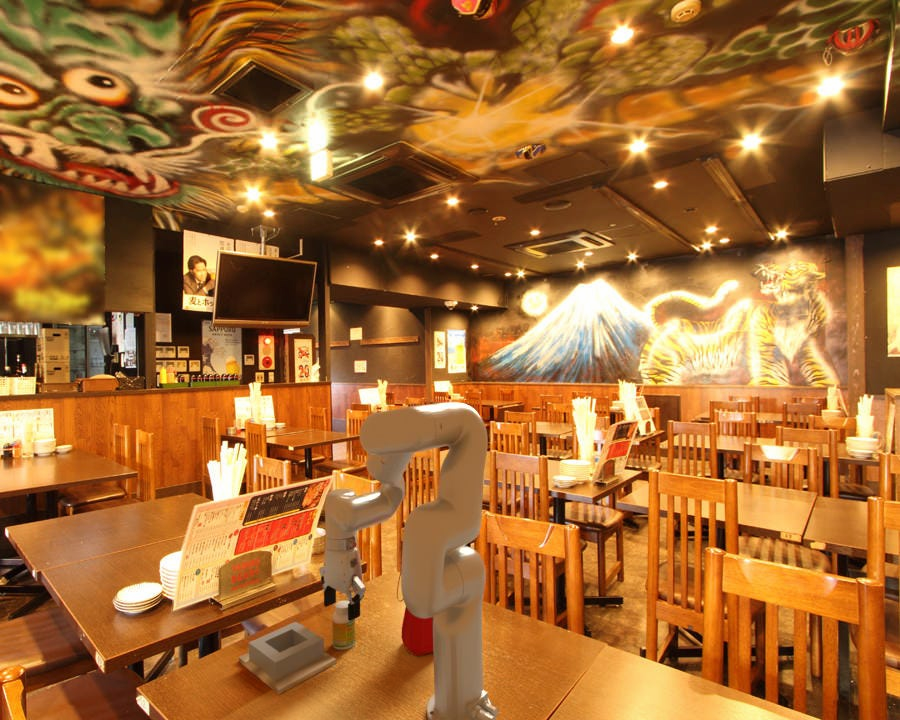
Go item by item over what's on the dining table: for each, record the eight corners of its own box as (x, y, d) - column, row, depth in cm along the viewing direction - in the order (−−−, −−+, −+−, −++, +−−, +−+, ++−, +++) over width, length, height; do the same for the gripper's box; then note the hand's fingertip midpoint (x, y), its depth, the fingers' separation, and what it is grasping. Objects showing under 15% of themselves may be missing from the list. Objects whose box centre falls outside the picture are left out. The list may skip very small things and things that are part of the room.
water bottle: (391, 643, 123) (389, 540, 123) (432, 631, 128) (430, 532, 128) (406, 663, 115) (403, 553, 115) (449, 649, 120) (446, 543, 120)
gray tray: (335, 663, 115) (335, 658, 115) (279, 694, 105) (279, 689, 105) (293, 635, 127) (293, 631, 127) (238, 661, 117) (238, 657, 117)
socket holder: (324, 656, 116) (323, 638, 116) (276, 681, 108) (275, 662, 108) (296, 637, 125) (295, 621, 125) (249, 660, 116) (248, 642, 116)
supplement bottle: (350, 651, 120) (349, 610, 120) (329, 649, 121) (328, 608, 121) (358, 639, 125) (357, 599, 125) (338, 637, 126) (337, 598, 126)
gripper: (376, 546, 120) (376, 617, 120) (333, 529, 132) (333, 594, 132) (350, 555, 115) (351, 630, 115) (308, 537, 126) (308, 605, 126)
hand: (341, 611), depth 123 cm, fingers open, 9 cm apart
